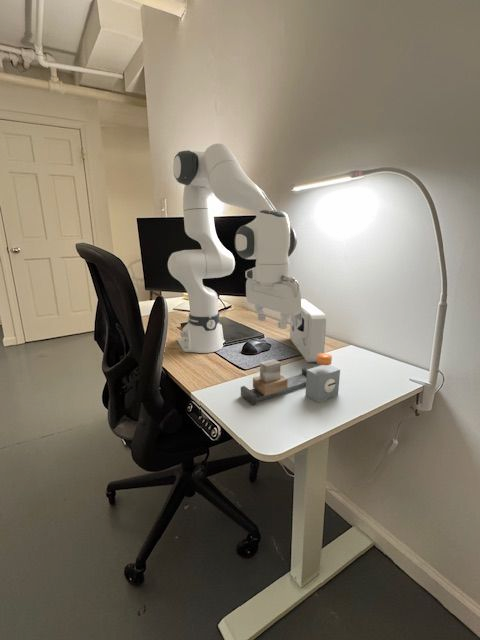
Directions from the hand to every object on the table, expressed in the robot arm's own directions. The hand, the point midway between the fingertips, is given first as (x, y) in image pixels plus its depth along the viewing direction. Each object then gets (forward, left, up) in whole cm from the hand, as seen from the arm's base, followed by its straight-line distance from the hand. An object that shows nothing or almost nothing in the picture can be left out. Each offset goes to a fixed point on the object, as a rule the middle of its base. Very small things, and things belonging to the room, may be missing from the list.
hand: (271, 324), depth 91 cm
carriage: (0, 0, -19) cm, 20 cm away
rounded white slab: (-21, +33, -22) cm, 45 cm away
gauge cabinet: (+9, +12, -21) cm, 26 cm away
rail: (0, +4, -21) cm, 22 cm away
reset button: (+9, +12, -11) cm, 19 cm away
